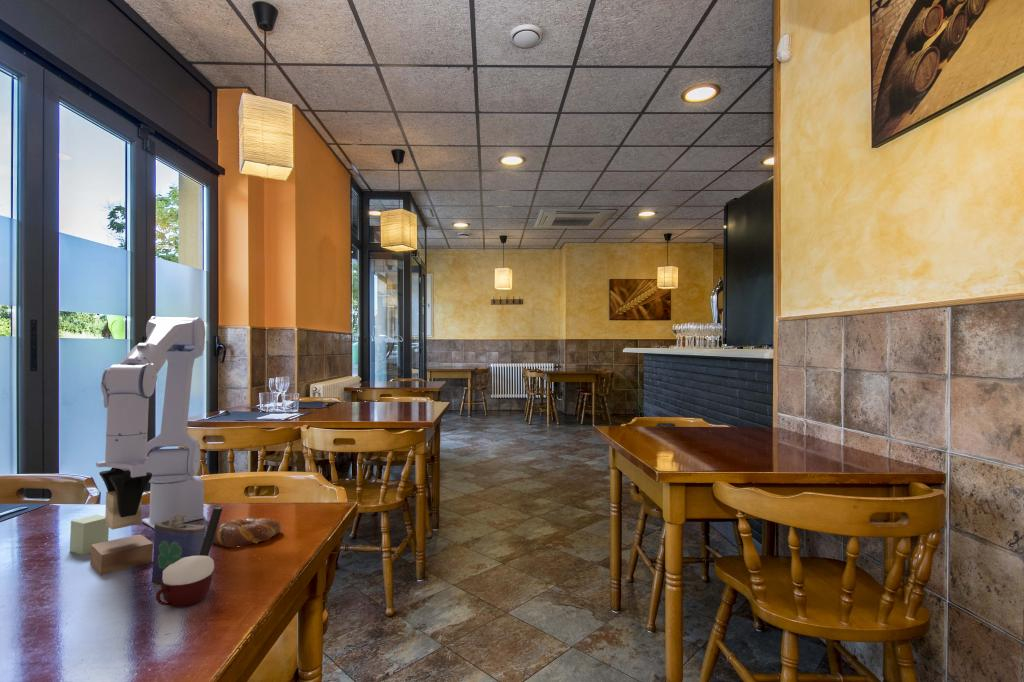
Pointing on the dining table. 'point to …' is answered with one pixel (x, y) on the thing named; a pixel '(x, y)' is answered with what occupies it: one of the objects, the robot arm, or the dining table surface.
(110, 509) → the beech block
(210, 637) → the dining table surface
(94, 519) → the sage block
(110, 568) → the walnut slab
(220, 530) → the pretzel
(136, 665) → the dining table surface
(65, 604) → the dining table surface
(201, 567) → the cocoa
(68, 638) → the dining table surface
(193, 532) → the flask
